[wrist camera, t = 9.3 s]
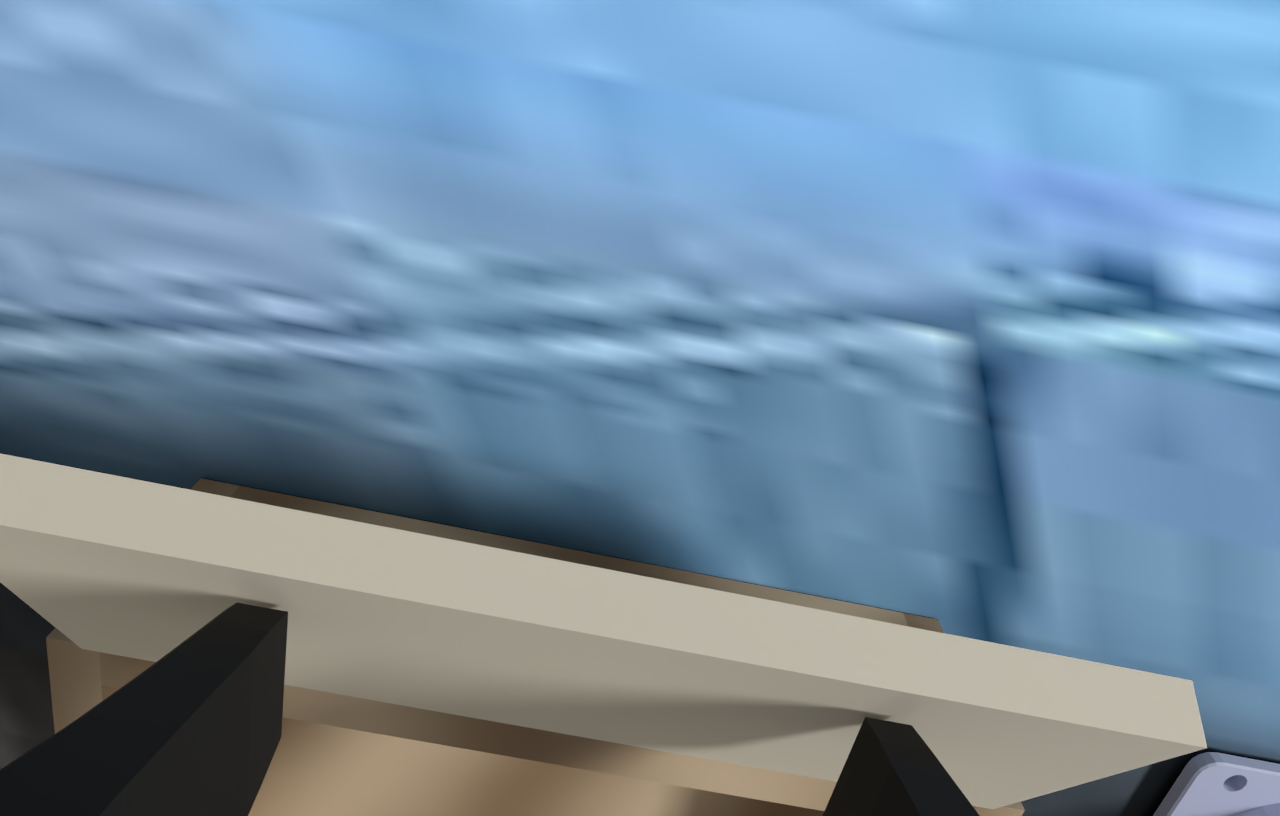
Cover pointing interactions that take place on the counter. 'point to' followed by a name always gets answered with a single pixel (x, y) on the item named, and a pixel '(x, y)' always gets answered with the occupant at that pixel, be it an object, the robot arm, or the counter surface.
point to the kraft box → (475, 728)
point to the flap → (569, 640)
